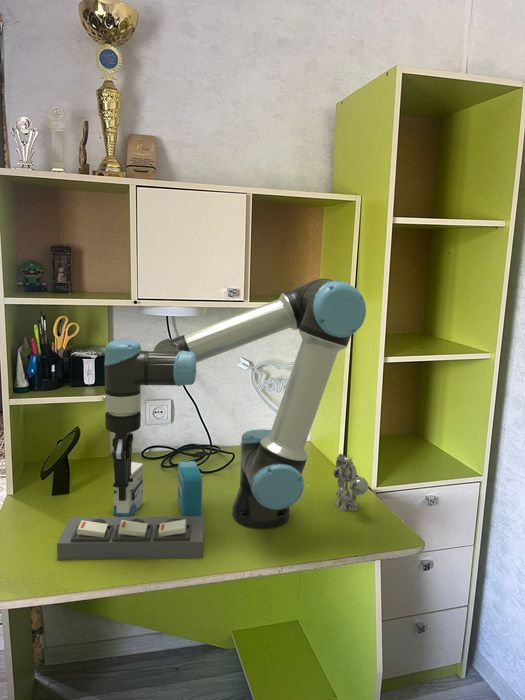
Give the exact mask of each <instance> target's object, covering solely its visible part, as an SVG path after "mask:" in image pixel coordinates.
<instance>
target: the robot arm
mask: <svg viewBox="0 0 525 700" xmlns="http://www.w3.org/2000/svg"><path fill="white" fill-rule="evenodd" d="M366 315H367V307H366V302H365V299H364V297H363V295H362V293H361V292H360V291H359V290H358V289H357V288H356V287H354V286H353V285H352V284H350V283H347V282H345V281H341V280H334V279H330V278H317V279H314V280H311V281H309V282H307V283H304V284H302V285H300V286H296V287H294V288H293V289H291V290H288V291H286V292H281V294H280V296H279V297H278V299H276V300H272V301H269V302H268V303H265V304H263V305H262V304H261V305H260V306H258V307H254V308H252V309H249V310H247V311H243V312H241V313H238V314H235V315H234V316H233V315H232V316H231V317H227V318H225V319H223V320H219V321H216V322H214V323H211V324H208V325H205V326H203V327H201V328H198V329H195V330H193V331H190V332H187V333H184V334H183V335H180V336H176V337H175V338H174V337H173V338H164V339H161V340H160V341H159V342H157V344H156V345H155V346H154V347H153V350H150V351H149V350H142V347H141V344H140V342H138V341H136V340H127V339H122V340H121V339H119V340H113V341H110V342H108V343H107V344H106V346H105V348H104V349H105V350H104V363H103V365H104V393H105V395H104V396H102V400H103V402H104V403H105V407H104V408H105V411H106V412H105V415H104V419H105V420H104V425H105V430H107V431H108V432H110V433H113V434H114V438H112V447H113V450H112V453H111V454H112V460H113V470H114V471H113V473H114V474H113V479H114V478H115V483H114V482H113V483H112V487H113V488H114V487H115V488H117V513H129V511H130V483H128V482H133V478H130V476H131V462H132V452H133V442H134V432H136V431H138V430H139V429H140V428H141V409H142V406H141V405H142V392H141V386H176V387H182V386H191V385H193V384H195V382H196V380H197V363H200V362H202V361H205V360H208V359H210V358H213V357H215V356H218V355H221V354H223V353H226V352H228V351H231V350H234V349H237V348H239V347H242V346H245V345H247V344H250V343H253V342H255V341H258V340H261V339H264V338H266V337H269V336H271V335H274V334H277V333H279V332H282V331H285V330H287V329H291V330H294V331H296V330H298V332H299V335H300V337H301V342H300V345H299V349H298V352H297V354H296V356H295V357H296V358H295V361H294V362H293V366H292V369H291V372H290V374H289V376H288V377H289V378H288V380H287V384H286V386H285V389H284V393H283V395H282V399H281V400H280V403H279V406H278V410H277V412H276V416H275V419H274V421H273V424H272V426H271V429H264V428H262V429H251V430H247V431H245V432H244V433H243V434H242V435H241V440H240V447H241V448H240V472H239V473H240V474H239V481H240V482H239V488H238V490H237V493H236V496H235V499H234V502H233V505H232V517H233V519H234V520H235V521H236V522H237V523H238V524H239V525H241V526H244V527H246V528H247V527H248V528H252V529H259V530H262V529H263V530H264V529H265V530H267V529H273V528H278V527H280V526H281V527H282V526H283V525H285V524H286V523H287V522H288V521H289V519H290V515H291V513H290V511H291V510H290V507H291V506H293V505H294V504H296V503H297V502H298V501H299V500H300V498H301V497H302V495H303V493H304V488H305V487H304V486H305V484H304V483H305V482H304V478H303V475H302V474H303V471H304V469H305V465H306V463H307V461H308V457H309V456H308V454H307V452H306V450H305V446H306V443H307V440H308V437H309V435H310V432H311V430H312V426H313V423H314V421H315V418H316V415H317V412H318V409H319V408H320V403H321V401H322V398H323V396H324V393H325V391H326V387H327V383H328V381H329V378H330V375H331V373H332V369H333V367H334V364H335V361H336V359H337V355H338V354H339V352H340V351H342V350H344V349H346V348H348V345H349V343H350V340H351V336H352V335H354V334H355V333H357V332H358V330H360V328H361V327H362V326H363V324H364V322H365V319H366Z"/></svg>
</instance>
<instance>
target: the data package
mask: <svg viewBox="0 0 525 700" xmlns="http://www.w3.org/2000/svg"><path fill="white" fill-rule="evenodd" d="M202 476H203V475H202V474H201V471H200V469H199V467H198V465H197V463H196V461H195V460H191V461H189V460H188V461H180V462H178V463H177V503H178V506H179V510H180V511H181V512H180V513H181V515H182V516H203V515H202V512H203V511H202V510H203V507H202V506H203V505H202V504H203V503H202V502H203V477H202Z"/></svg>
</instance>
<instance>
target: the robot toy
mask: <svg viewBox="0 0 525 700" xmlns="http://www.w3.org/2000/svg"><path fill="white" fill-rule="evenodd" d="M335 467H336V468H335V469H334V470H333V476H334V478H337V481H336V482H337V487H338V488H337V489H336V491H335V495H336V497H337V498H338V499H337V500H336V501H335V502H334V505H335V506H336V507H338V509H339V510H340V511H341V512H344V511H348V512H349V511H352V512H355V511H356V512H357V511H359V509H360V508H361V507H360V506H358V505H359V503H356V502H357V500H356V498H357V497H359V496H362V495H364V494H367V492H368V490H369V483H368V481H367V480H366V479H365V478H364V477H362V476H357V475H358V474H357V467H356V466H355V463H354V462H353V456H351V457H350V455H348V456H346V455H345V454H342V453H339V454H338V456H337V458H336V462H335ZM350 490H351V492H350ZM347 506H348V507H347Z"/></svg>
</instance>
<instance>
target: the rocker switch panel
mask: <svg viewBox="0 0 525 700" xmlns="http://www.w3.org/2000/svg"><path fill="white" fill-rule="evenodd" d="M184 519H186V524H187V525H186V533H181V534H175V535H169V536H163V537H159V533H158V532H159V527H160V524H161V523H167V522H173V521H178V520H184ZM204 519H205V517H204V515H202V516H181V515H179V516H176V515H175V516H174V515H172V516H170V515H169V516H168V515H167V516H131V517H126V516H90V517H89V516H73V517H70V518H69V519H68V522H67V523H66V525H65V527H64V529H63V531H62V533H61V535H60V537H59V539H58V541H57V543H56V552H57V553H56V556H57V557H56V558H57V561H79V560H80V561H81V560H82V561H83V560H84V561H85V560H87V561H88V560H89V561H90V560H95V561H96V560H145V559H147V560H149V559H150V560H152V559H156V560H157V559H158V560H159V559H202V558H203V557H204V555H203V554H204V531H205V530H204V529H205V527H204V526H205V525H204V524H205V523H204V521H205V520H204ZM82 520H84V521H91V522H97V523H104V524H108V527H107V531H106V534H105V536H104V537H103V538H102V537H95V536H88V535H81V534H77V529H78V527H79V525H80V523H81V521H82ZM121 520H126V521H133V522H139V523H146V524H147V529H146V533H145V537H139V536H132V535H126V534H119V533H118V530H119V526H120V523H121Z"/></svg>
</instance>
